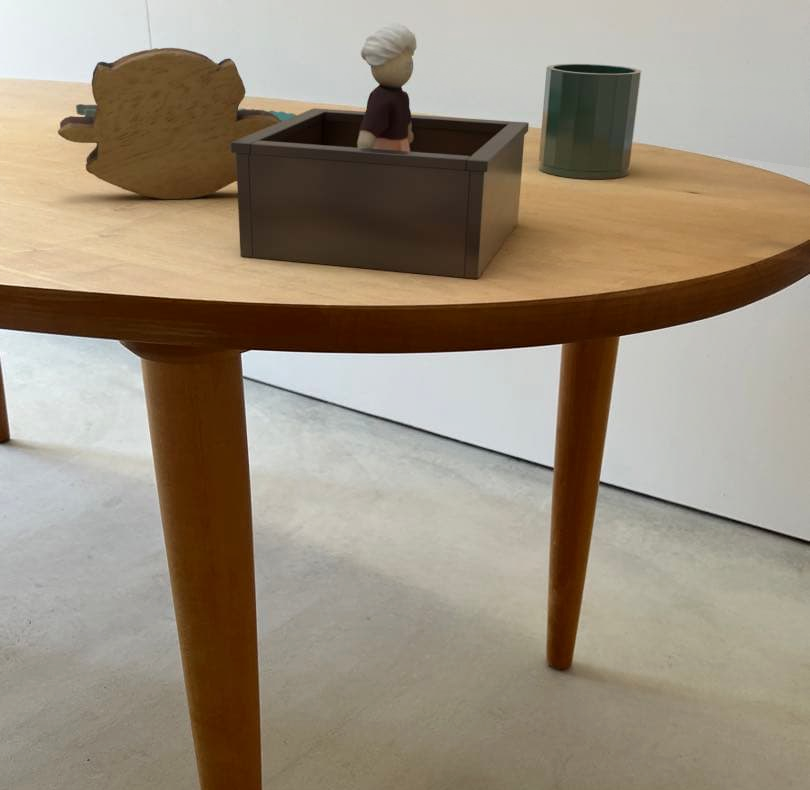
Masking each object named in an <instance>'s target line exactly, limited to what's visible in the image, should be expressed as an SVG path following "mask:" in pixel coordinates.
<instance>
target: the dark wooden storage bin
mask: <svg viewBox="0 0 810 790" xmlns="http://www.w3.org/2000/svg"><path fill="white" fill-rule="evenodd" d="M365 112H366V111H362V110H361V111H360V110H346V109H328V108H315V107H314V108H311V109H309V110H306V111H304V112H301V113H299V114H295V115H296V116H294V117H291V118H289V119H287V120H284V121H282V122H279V123H277V124H274V125H272V126H270V127H267V128H265V129H262V130H260V131H257V132H255V133H253V134H250V135H248V136H245V137H243V138H240V139H238V140H236V141H233V142H231V152H232V153H236V166H237V181H236V186H237V188H236V189H237V206H238V207H237V208H238V230H239V231H238V232H239V233H238V234H239V253H240V257H245V258H255V259H264V260H265V259H266V260H277V261H286V262H296V263H307V264H318V265H327V266H328V265H329V266H337V267H349V268H359V269H369V270H379V271H389V272H401V273H409V274H410V273H411V274H422V275H430V276H431V275H433V276H443V277H451V278H452V277H453V278H462V279H463V278H465V279H474V280H478V279H479V277H480V276H481V275H482V273H483V272H484V271H485V269H486V268H487V267H488V265H489V263H491V261H492V260H493V258H494V257H495V255H496V254H497V253H498V251H499V250H500V249H501V247H502V246H503V244H504V243H505V241H506V240H507V239H508V238H509V236H510V235H511V234H512V232H513V231H514V229H515V228H516V227H517V225H518V223H519V211H520V198H521V185H522V172H523V160H524V159H523V158H524V145H525V135H526V134H527V133H528V132H529V124H530V123H529V122H525V121H509V120H495V119H483V118H482V119H481V118H467V117H466V118H465V117H464V118H463V117H450V116H435V115H421V114H420V115H419V114H411V124H412V128H411V131H412V133H413V141H412V143H410V144H409V147H410V152H408V151H394V150H381V149H367V148H358V146H357V142H358V138H359V134H360V132H359V130H360V126H361V123H362V121H363V118H364V115H365Z"/></svg>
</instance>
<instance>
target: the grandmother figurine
mask: <svg viewBox="0 0 810 790" xmlns="http://www.w3.org/2000/svg"><path fill="white" fill-rule="evenodd" d="M417 48H418V47H417V38H416V34H415V33H413V32H412V31H411V30H410V29H409V28H408V27H407V26H406V25H401V24H399V23H396V22H388V23H386V24H383V25H382V26H380V27H379V28H377V29H376V30H375V31H373V32H371V34H369V35H368V36H367V37H366V39H365V42H364V44H363V47H362V48H361V50H360V56H361V58H362V59H363V60H364V61H365V63H367V65H368V66H370V72H371V75H372V77H373V79H374V80H375V81H376V83H378V85H377V86H376V87H375V88H373V90H372V91H371V92H370V93H369V95H368V98H367V101H366V102H367V103H366V109H365V111H364V112H365V115H364V118H363V121H362V123H361V126H360V130H359V132H360V134H359V138H358V142H357V146H358V148H367V149H381V150H394V151H408V152H410V147H409V144H410V143H412V141H413V133H412V131H411V128H412V124H411V115H412V112H411V108H410V97H409V96H410V95H409V94H408V93H407V91H404V90H403V88H402V87H403V86H404V85H406V84H407V83H408V82H409V80H410V79H411V77H412V75H413V71H414V59H413V56H414V54H415V51H416V50H417Z"/></svg>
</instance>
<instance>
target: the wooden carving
mask: <svg viewBox="0 0 810 790" xmlns="http://www.w3.org/2000/svg"><path fill="white" fill-rule="evenodd" d="M91 92H92V96H93V100H94V102H95V105H97V108H96V111H95V114H94V117H85V116H74V115H70V116H67V117H65V118H63V119H62V120H61V121H60V122H59V127H60V128H59V129H58V130H57V134H58V135H59V136H60V137H61V138H63V139H65V141H69V142H72V143H78V144H79V143H80V144H96V146H95V147H94V148H93V150H92V151H91V152H90V153H89V154H88V155H87V156H86V163H85V170H86V171H87V172H88V173H89V174H91V175H93V176H95V177H96V178H97V179H99V180H101V181H104V182H106V183H108V184H110V185H112V186H115V187H118V188H120V189H123V190H124V191H128V192H130V193H131V192H132V193H134V194H137V195H141V196H143V197H147V198H155V199H159V200H160V199H161V200H188V199H195V198H201V197H204V196H207V195H209V194H213V193H216V192H218V191H220V190H222V189H224V188H226V187H228V186H229V185H231V184H233V183H235V182H237V166H236V153H232V152H231V142H233V141H236V140H238V139H240V138H243V137H245V136H248V135H250V134H253V133H255V132H257V131H260V130H262V129H265V128H267V127H270V126H272V125H274V124H277V123H279V122H282V121H281V120H280V119H279V118H278V117H277V116H275V115H274V114H272V113H270V112H266V111H267V110H265V111H262V110H263V109H254V110H250V109H248V108H247V109H246V108H245V109H246V110H240V111H238V109H239V107H240V104H241V103H242V101H243V100H244V98H245V95H246V92H247V91H246V87H245V84H244V82H243V79H242V78H241V75H240V73H239V70H238V67H237V65H236V63H235V61H233V59H232V58H224V59H222V60H220V62H218V63H216V62H215V61H214V60H212V59H211V58H209V56H206V55H204V54H202V53H199V52H196V51H193V50H189V49H184V48H179V47H161V48H152V49H145V50H140V51H135V52H133V53H130V54H127V55H123V56H121V57H120V58H118V59H117V60H115V61H113V62H106V61H99V62H97V63H96V65H95V67H94V70H93V72H92V78H91Z"/></svg>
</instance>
